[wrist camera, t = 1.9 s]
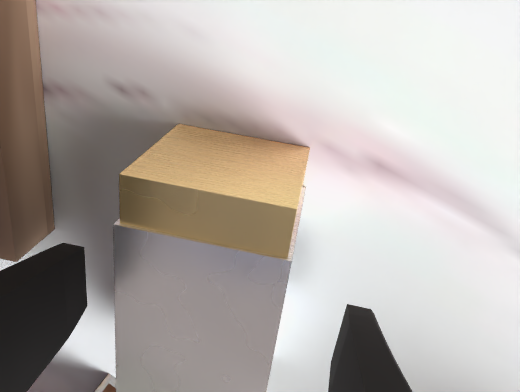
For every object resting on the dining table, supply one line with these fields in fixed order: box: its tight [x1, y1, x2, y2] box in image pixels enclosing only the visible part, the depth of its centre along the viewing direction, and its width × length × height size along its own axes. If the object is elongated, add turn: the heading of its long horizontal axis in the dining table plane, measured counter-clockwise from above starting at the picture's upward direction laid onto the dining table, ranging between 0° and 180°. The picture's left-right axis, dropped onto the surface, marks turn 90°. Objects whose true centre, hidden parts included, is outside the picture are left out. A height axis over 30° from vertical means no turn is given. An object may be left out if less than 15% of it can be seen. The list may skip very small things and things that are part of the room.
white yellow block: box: [113, 124, 310, 392], centre depth 13 cm, size 4×8×4 cm, turn 173°
